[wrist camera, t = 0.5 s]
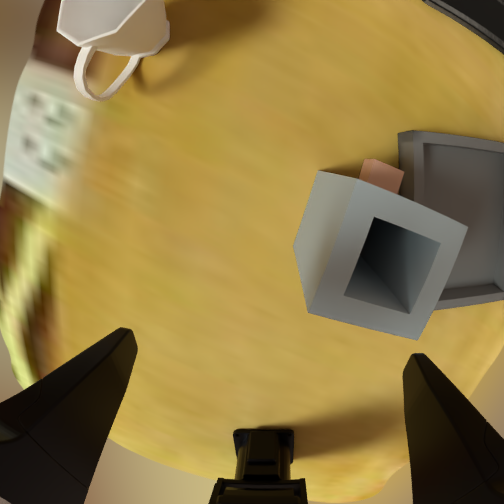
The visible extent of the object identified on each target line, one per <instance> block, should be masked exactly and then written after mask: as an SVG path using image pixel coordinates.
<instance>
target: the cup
mask: <svg viewBox="0 0 504 504" xmlns="http://www.w3.org/2000/svg"><path fill="white" fill-rule="evenodd" d="M57 32H59V33H60V34H61V35H63V36H64V37H66V38H67V39H69V40H70V41H71V42H73V43H74V44H76V45H77V46H80V47H82V49H81V51H80V52H79V55H78V58H77V61H76V64H75V68H74V80H75V84H76V87H77V90H78V91H79V92H80V93H81V94H82V95H84V96H85V97H87V98H89V99H91V100H95V101H105V100H109V99H110V98H111V97H112V96H113V95H115V94H116V93H117V92H118V90H119V89H120V88H121V87H122V86H123V85H124V83H125V82H126V81H127V80H128V79H129V77H130V76H131V75H132V73H133V72H134V70H135V69H136V67H137V66H138V64H139V61H140V59H141V58H143V57H148V56H152V55H156V54H157V53H158V51H159V50H160V49H161V48H162V47H163V46H164V45H165V44H166V43H167V42H168V41H169V40H170V22H169V21H168V20H166V11H165V4H164V1H163V0H61V6H60V12H59V18H58V25H57ZM96 50H98V51H102V52H106V53H110V54H114V55H121V56H131V58H130V61H129V63H128V65H127V66H126V68H125V69H124V70H123V72H122V73H121V74H120V75H119V77H118V78H117V79H116V80H115V81H114V82H113V83H112V85H111V86H110V87H109V88H108V89H107V90H106V91H104V92H103V93H102V94H101V95H95V94H94V93H93V92H92V91H91V90H90V89H89V88H88V84H87V80H86V76H85V74H86V68H87V66H88V64H89V62H90V60H91V58H92V56H93V54H94V52H95V51H96Z"/></svg>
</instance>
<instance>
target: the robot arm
mask: <svg viewBox="0 0 504 504" xmlns="http://www.w3.org/2000/svg"><path fill="white" fill-rule="evenodd" d="M137 351H138V347H137V343H136V340H135V337H134V333H133V331H132V330H131V329H128V328H123V327H120V328H118V329H117V330H115V331H114V332H112V333H110V334H109V335H107V336H106V337H104V338H103V339H101V340H100V341H98V342H97V343H95V344H94V345H92V346H91V347H89V348H88V349H86V350H84V351H83V352H81V353H80V354H78V355H77V356H75V357H74V358H72V359H71V360H69V361H68V362H66V363H65V364H63V365H62V366H60V367H59V368H57V369H56V370H54V371H53V372H51V373H50V374H48V375H46V376H45V377H43V379H40V380H39V381H37V382H36V383H34V384H33V385H31V386H30V387H28V388H26V389H25V390H23V391H21V392H20V393H18V394H16V395H14V396H13V397H11V398H9V399H7V400H5V401H3V402H1V403H0V504H84V501H85V498H86V495H87V493H88V488H89V486H90V483H91V481H92V478H93V475H94V472H95V469H96V466H97V464H98V461H99V458H100V456H101V453H102V450H103V448H104V445H105V442H106V440H107V437H108V435H109V432H110V429H111V427H112V424H113V422H114V419H115V417H116V414H117V412H118V409H119V407H120V404H121V402H122V400H123V397H124V395H125V392H126V389H127V386H128V383H129V379H130V376H131V372H132V369H133V365H134V362H135V359H136V355H137ZM403 392H404V414H405V424H406V431H407V439H408V448H409V457H410V466H411V477H412V478H411V479H412V493H413V504H504V439H503V438H502V437H501V436H500V435H499V434H498V433H497V432H496V430H495V429H494V428H493V427H492V426H491V425H490V424H489V423H488V422H486V419H485V418H484V417H483V416H482V415H481V414H480V413H479V412H478V410H477V409H476V408H475V407H474V406H473V405H472V404H471V403H470V402H469V400H468V399H467V398H466V397H465V396H464V395H463V394H462V393H461V392H460V391H459V390H458V388H457V387H456V386H455V385H454V384H453V383H452V382H451V381H450V380H449V379H448V378H447V377H446V376H445V375H444V374H443V373H442V371H441V370H440V369H439V368H438V367H437V366H436V365H435V364H434V363H433V362H432V361H431V360H430V359H429V358H428V357H427V356H426V355H425V354H423V353H414V354H412V355H411V356H410V358H409V360H408V362H407V364H406V366H405V368H404V371H403ZM233 438H234V444H235V450H236V456H237V466H236V474H235V479H224V478H218V480H217V483H215V486H214V489H213V492H212V495H211V498H210V501H209V503H208V504H308V502H307V492H306V483H305V478H300V479H295V480H291V477H290V464H292V463H293V448H294V431H293V430H235V431H234V432H233Z"/></svg>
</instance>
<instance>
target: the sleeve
mask: <svg viewBox="0 0 504 504" xmlns="http://www.w3.org/2000/svg"><path fill="white" fill-rule="evenodd" d="M403 175H404V171H401V170H399V169H397V168H395V167H392V166H390V165H388V164H385V163H383V162H380V161H378V160H376V159H364V162H363V166H362V169H361V172H360V175H359V178H358V179H357V178H352V177H348V176H343V175H338V174H333V173H328V172H323V171H318V172H317V175H316V178H315V181H314V184H313V188H312V191H311V194H310V197H309V200H308V203H307V206H306V209H305V212H304V215H303V218H302V221H301V224H300V227H299V230H298V233H297V236H296V239H295V242H294V245H293V248H294V252H295V256H296V261H297V265H298V269H299V274H300V278H301V283H302V288H303V292H304V297H305V301H306V306H307V311H308V313H311V314H315V315H319V316H322V317H326V318H330V319H333V320H337V321H341V322H345V323H349V324H353V325H357V326H360V327H364V328H368V329H372V330H376V331H380V332H384V333H389V334H393V335H397V336H401V337H405V338H409V339H414V340H418V339H419V337H420V335H421V333H422V332H423V330H424V328H425V326H426V324H427V322H428V320H429V318H430V316H431V314H432V312H433V310H434V308H435V306H436V304H437V302H438V300H439V297H440V295H441V293H442V291H443V289H444V287H445V284H446V282H447V280H448V278H449V275H450V273H451V271H452V268H453V266H454V263H455V261H456V258H457V256H458V253H459V251H460V248H461V245H462V243H463V240H464V237H465V235H466V232H467V229H468V227H467V226H465V225H463V224H461V223H459V222H457V221H455V220H453V219H451V218H449V217H447V216H445V215H442V214H440V213H438V212H436V211H434V210H432V209H429V208H427V207H425V206H423V205H420V204H418V203H416V202H414V201H411V200H409V199H407V198H404V197H402V196H400V195H397V194H398V191H399V188H400V184H401V181H402V178H403Z"/></svg>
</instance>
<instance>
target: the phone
mask: <svg viewBox="0 0 504 504" xmlns="http://www.w3.org/2000/svg"><path fill="white" fill-rule="evenodd" d="M422 1H423V2H424V3H426V4H427V5H429V6H430V7H432V8H434V9H436V10H438V11H440V12H441V13H443V14H445V15H446V16H448V17H450V18H452V19H453V20H455V21H456V22H458V23H460V24H461V25H463V26H464V27H466V28H467V29H469V30H471V31H472V32H474V33H475V34H476V35H478V36H479V37H481V38H482V39H484V40H485V41H486V42H488V43H489V44H491V45H492V46H493V47H495V48H496V49H497V50H499V51H500V52H501V53H502V54H504V0H422Z"/></svg>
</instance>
